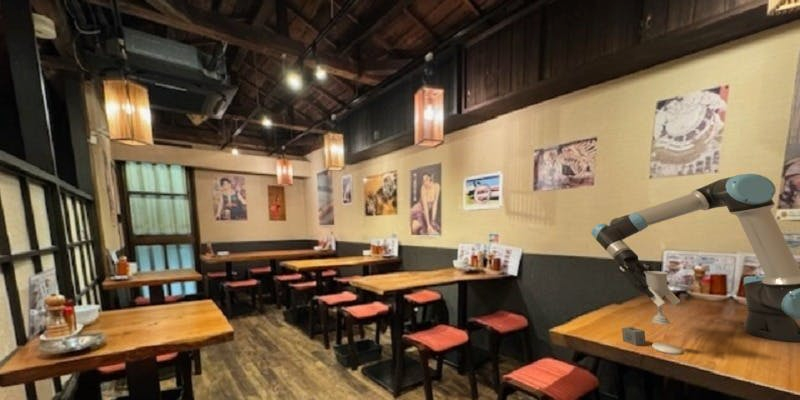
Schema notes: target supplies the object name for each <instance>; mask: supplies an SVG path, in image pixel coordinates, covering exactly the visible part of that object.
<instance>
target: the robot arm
mask: <svg viewBox="0 0 800 400" xmlns="http://www.w3.org/2000/svg"><path fill="white" fill-rule="evenodd" d="M776 189H777V188H776V186H775V184H774V183H773V181H772V180H771V179H769V178H768V177H766V176H764V175H761V174H756V173H742V174H741V173H740V174H736V175H734V176H730V177H725V178H720V179H717V180H716V181H713V182H711V183H709V184H706V185H704V186H702V187H699V188H696V189H693V190H692V191H691V192H690V193H689V194H686V195H683V196H680V197H676V198H674V199H671V200H667V201H665V202H662V203H659V204H656V205H653V206H650V207H648V208H647V207H646V208H644V209H641V210H637V211H634V212H632V213H628V214H627V215H623V216H620V217H615V218H613V219H610V221H609V223H608V224H607V223H603V222H602V223H599V224H596V225H595V226H593V227H592V229H591V235H592V236H593V237H594V239H595V240H596V242H597V243H598V244H600V246H601V247H602V248H603V249H604V250H605V252H607V253H608V254H609V255H610V257H611V258H613V259H614V261H615V263H616V264H618V266H619V268H618V271H620V272H621V273H622V274H623V275H624V276H625V277H626V279H627V281H629V283H631V285H632V286H633V287H634V289H635V290H637V291H639V292H641V293H643V292H644V293H645V295H646V296H647V297H648V298H650V299H651V301H652V302H653V303H654V304H655V305H656V306H657V307H661V308H662V306H663V305H665V303H666V302H665V300H663V299H662V298H660V296H659V295H658V294H657V293H656V292H655V291H654V290H653V289H652V288H651V287H648V286H647V282H646V281H645V280H644V278H645V279H646V275H645V273H644V272H645V271H656V269H655V268H654V267H653V266H652V265H651V264H650V263H643V262H641V261H640V260H639V255H638V254H637V253H635V251H634V250H632V249H631V247H630V246H629V245H628V244H627V243H625V241H624V240H625V239H627V238H628V237H631V236H633V235H635V234H637V233H639V232H642V231H643V230H645V229H647V228H648V227H649V226H652V225H656V224H659V223H661V222H664V221H667V220H672V219H675V218H677V217H681V216H684V215H689V214H690V213H694V212H697V211H700V210H702V211H709V210H711V209H716V208H723V207H726V208H727V209H728V212H729V213H730V214H731V215H734V216H736V217H737V218H738V220H739V222H740V224H741V227H742V228H743V231H744V233H745V235H746V237H747V239H748V242H749V244H750V246H751V248H752V250H753V252H754V254H755V257H756V258H757V260H758V263H759V265H760V267H761V269H762V271H763V273H764V276H759V275H758V276H755V275H754V276H753V275H752V276H751V275H750V276H749V275H747V276H745V277H743V284H742V285H743V288H744V294H745V295H744V296H745V300H746V306H747V315H746V317H745V320H744V324H743V330H744V332H745V333H747V334H749V335H753V336H756V337H759V338H762V339H763V338H764V339H769V340H774V341H782V342H791V343H795V342H796V343H799V342H800V325H799V323H798V322H797V319H798V320H800V266H799V264H798V263H797V260H796V258H795V256H794V254H793V253H792V250H791V248H790V246H789V245H788V243H787V240H786V238H785V236H784V235H783V232H782V229H780V226H779V224H778V222H777V220H776V219H775V215H774V214H773V212H772V209H773V208H774V206H775V201H774V200H773V198H774V196H775V194H776ZM643 277H644V278H643ZM669 284H670V282H668V281H667V285H669ZM664 297H665V298H666V299H667V301H669V302H670V303H671V304H672V306H677V305H678V304H679V303H681V300H680V299H679V298H678V297H677V296H676V295H675V293H674V292H673V291H672V290H671V289H670V288H669V287H667V290H666V293H665V295H664Z"/></svg>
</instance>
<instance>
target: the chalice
mask: <svg viewBox="0 0 800 400" xmlns="http://www.w3.org/2000/svg"><path fill="white" fill-rule="evenodd" d="M643 273H645V275H646V278H645V280H646V281H645V282H646V284H647V286H648V287H651V288H652V289H653V290H654V291H655V292H656V293H657V294H658V295H659V296H660V298H661V299H662V298H664V297H665V296H664V295H665V293H666V290H667V287H668V285H669V284H668V285H667V282H668V278H667V276H668V274H669V273H668V272H666V271H659V270H655V271H645V270H644V272H643ZM648 287H647V288H648ZM668 288H669V287H668ZM656 310H658V311H657V312H658V313H657V314H655V315H654V316H653V319H652V320H651V321H652V322H653V323H655V324H659V325H671V322H670V320H669V319H668V317H667V316H666V315H664V314H663V312H662V311H663V307H662V306H661V307H658V306H657V308H656Z"/></svg>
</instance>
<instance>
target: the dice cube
mask: <svg viewBox="0 0 800 400" xmlns="http://www.w3.org/2000/svg"><path fill="white" fill-rule="evenodd" d="M645 332H646V331H645V330H643V329H640V328H638V327H633V326H628V327H622V328H621V334H622V341H623V342H624V343H627V344H629V345H633V346H635V347H638V346H643V345H647V341H646V333H645Z"/></svg>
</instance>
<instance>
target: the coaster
mask: <svg viewBox="0 0 800 400" xmlns="http://www.w3.org/2000/svg"><path fill="white" fill-rule="evenodd" d="M651 348H652V349H653V350H654V351H656V352H659V353H662V354H666V355H673V356H674V355H675V356H677V355H682V353H683V351H682V349H681V347H680V346H679V347H678V346H676V345H672V344H669V343H663V342H662V343H661V342H654V343H652V344H651Z"/></svg>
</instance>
